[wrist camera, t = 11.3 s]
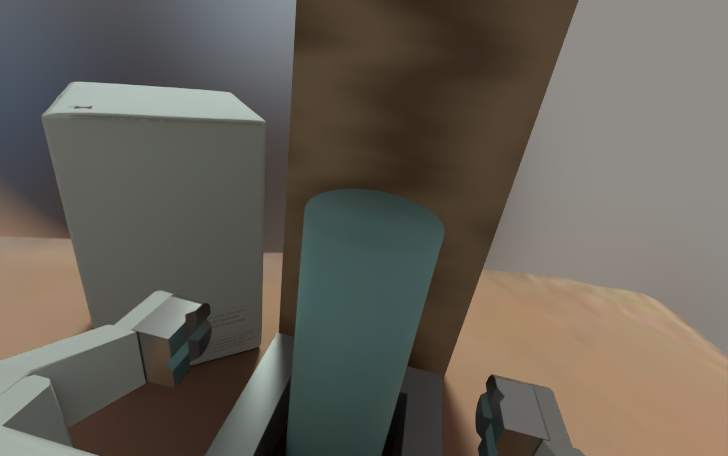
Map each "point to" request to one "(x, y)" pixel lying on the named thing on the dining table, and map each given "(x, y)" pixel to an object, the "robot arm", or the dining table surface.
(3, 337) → the dining table surface
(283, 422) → the socket
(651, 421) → the dining table surface
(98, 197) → the supplement box
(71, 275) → the dining table surface
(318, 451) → the peg
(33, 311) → the dining table surface
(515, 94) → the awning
